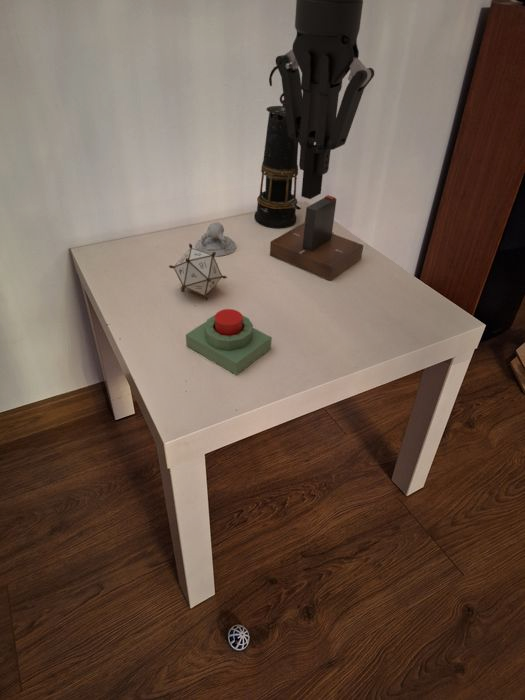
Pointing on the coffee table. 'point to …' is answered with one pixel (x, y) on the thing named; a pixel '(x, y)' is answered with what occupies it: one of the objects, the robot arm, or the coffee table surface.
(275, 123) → the lantern
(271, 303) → the coffee table surface
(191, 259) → the game die
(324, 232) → the dark grey block
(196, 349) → the button block
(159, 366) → the coffee table surface
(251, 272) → the coffee table surface
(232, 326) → the button
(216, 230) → the miniature
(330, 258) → the block
